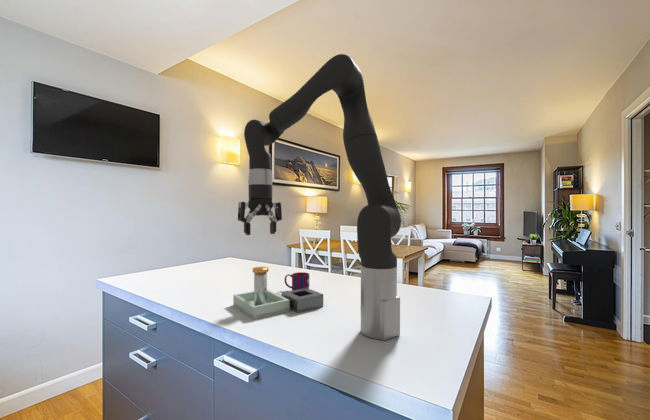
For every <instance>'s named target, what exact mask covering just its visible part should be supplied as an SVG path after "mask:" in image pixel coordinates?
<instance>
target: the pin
mask: <svg viewBox="0 0 650 420" xmlns="http://www.w3.org/2000/svg"><path fill="white" fill-rule="evenodd" d="M268 272H269V267H267V266H256V267H252V273H253V291H254V305H255V306H258V305H263V304H267V290H268V287H267V286H268Z"/></svg>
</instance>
